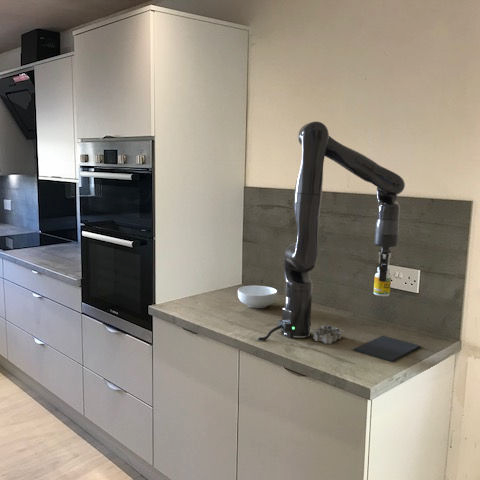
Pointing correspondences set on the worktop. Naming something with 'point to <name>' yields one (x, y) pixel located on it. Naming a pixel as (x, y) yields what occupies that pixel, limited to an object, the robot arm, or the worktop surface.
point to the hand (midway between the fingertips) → (382, 279)
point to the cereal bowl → (257, 296)
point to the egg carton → (327, 334)
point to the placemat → (387, 348)
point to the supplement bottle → (382, 284)
